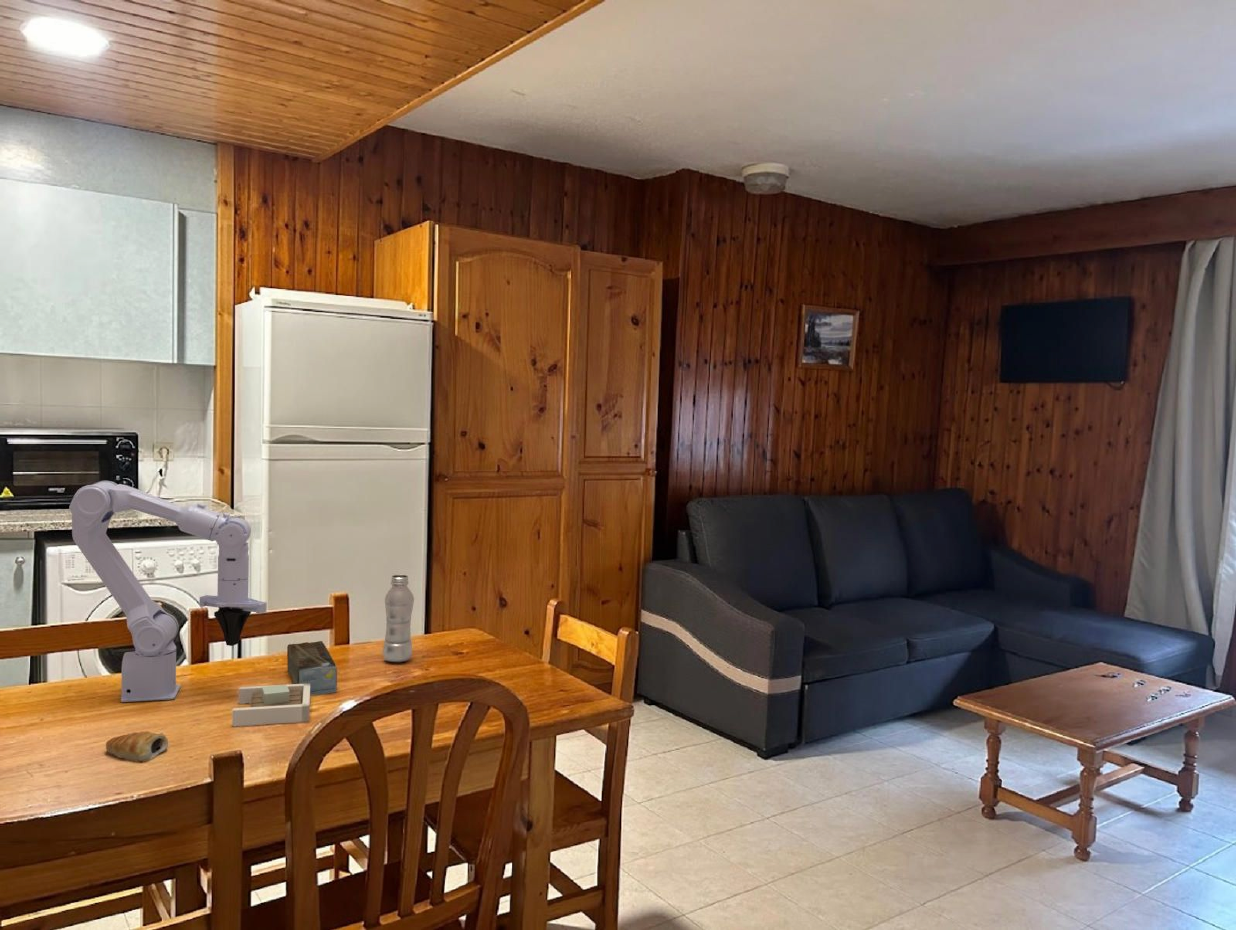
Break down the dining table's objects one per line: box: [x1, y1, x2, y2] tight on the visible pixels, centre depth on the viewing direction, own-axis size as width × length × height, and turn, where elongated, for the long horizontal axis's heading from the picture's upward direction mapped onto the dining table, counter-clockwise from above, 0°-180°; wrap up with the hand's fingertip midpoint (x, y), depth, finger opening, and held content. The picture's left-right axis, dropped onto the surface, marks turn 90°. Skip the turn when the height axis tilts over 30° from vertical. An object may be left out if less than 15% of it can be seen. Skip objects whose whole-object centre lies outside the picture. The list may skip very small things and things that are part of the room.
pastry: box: [105, 730, 169, 762], centre depth 149 cm, size 9×7×4 cm
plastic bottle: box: [382, 574, 415, 663], centre depth 205 cm, size 6×7×20 cm
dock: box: [231, 683, 311, 727], centre depth 170 cm, size 13×13×3 cm
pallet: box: [250, 690, 302, 707], centre depth 171 cm, size 9×9×3 cm
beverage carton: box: [286, 640, 338, 696], centre depth 189 cm, size 8×19×7 cm, turn 27°
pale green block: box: [262, 684, 290, 705], centre depth 171 cm, size 4×4×2 cm
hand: (232, 644), depth 179 cm, fingers closed
